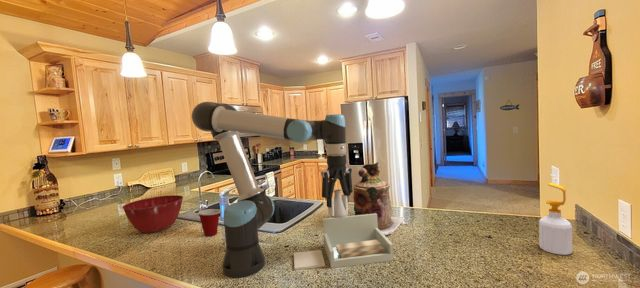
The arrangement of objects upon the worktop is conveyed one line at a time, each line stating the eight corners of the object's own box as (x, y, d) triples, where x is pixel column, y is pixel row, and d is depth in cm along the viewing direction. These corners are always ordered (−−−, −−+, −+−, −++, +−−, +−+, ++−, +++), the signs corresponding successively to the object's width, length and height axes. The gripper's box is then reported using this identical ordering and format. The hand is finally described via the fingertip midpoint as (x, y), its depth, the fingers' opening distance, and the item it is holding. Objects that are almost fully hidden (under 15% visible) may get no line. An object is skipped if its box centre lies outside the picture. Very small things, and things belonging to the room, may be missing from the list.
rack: (331, 268, 96) (329, 235, 95) (324, 246, 113) (322, 218, 112) (393, 260, 98) (392, 228, 98) (377, 240, 116) (376, 213, 115)
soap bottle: (541, 242, 105) (540, 180, 104) (572, 248, 99) (572, 182, 98) (537, 250, 99) (536, 184, 98) (571, 258, 93) (570, 187, 91)
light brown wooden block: (339, 265, 97) (338, 249, 97) (337, 260, 101) (336, 244, 101) (383, 259, 100) (383, 243, 100) (379, 254, 104) (378, 239, 104)
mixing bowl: (122, 229, 151) (119, 202, 150) (178, 216, 169) (176, 192, 168) (128, 244, 129) (124, 212, 128) (191, 227, 148) (189, 199, 147)
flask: (350, 217, 103) (349, 191, 102) (332, 219, 101) (331, 193, 100) (343, 211, 110) (342, 187, 109) (326, 213, 108) (325, 189, 107)
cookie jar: (362, 214, 151) (359, 158, 149) (406, 221, 137) (403, 159, 135) (339, 229, 131) (335, 164, 130) (387, 239, 117) (384, 166, 115)
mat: (294, 270, 96) (294, 268, 96) (293, 254, 107) (293, 252, 107) (325, 266, 97) (325, 264, 97) (321, 251, 109) (320, 249, 109)
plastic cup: (225, 234, 134) (223, 210, 134) (202, 240, 128) (200, 215, 127) (219, 228, 143) (217, 206, 142) (197, 234, 136) (195, 211, 136)
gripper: (322, 157, 95) (324, 221, 97) (361, 153, 107) (362, 210, 108) (310, 156, 101) (312, 216, 103) (348, 152, 113) (350, 206, 114)
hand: (338, 213), depth 105 cm, fingers closed on flask, 6 cm apart
